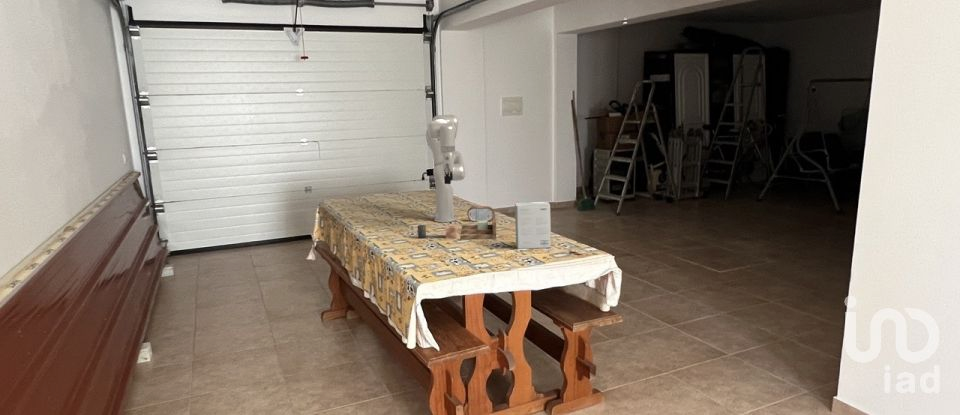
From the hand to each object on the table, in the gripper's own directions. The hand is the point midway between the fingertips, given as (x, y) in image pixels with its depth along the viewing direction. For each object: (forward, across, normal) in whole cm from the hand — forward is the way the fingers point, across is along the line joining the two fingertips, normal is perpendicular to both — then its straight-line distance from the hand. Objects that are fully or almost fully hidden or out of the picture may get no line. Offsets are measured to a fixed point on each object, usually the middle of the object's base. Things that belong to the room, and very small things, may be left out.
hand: (448, 182), depth 305 cm
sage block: (+24, -9, -18) cm, 31 cm away
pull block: (+24, -21, +4) cm, 32 cm away
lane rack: (+24, -15, -15) cm, 32 cm away
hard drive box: (+22, -41, -42) cm, 63 cm away
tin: (+25, +15, -16) cm, 33 cm away
